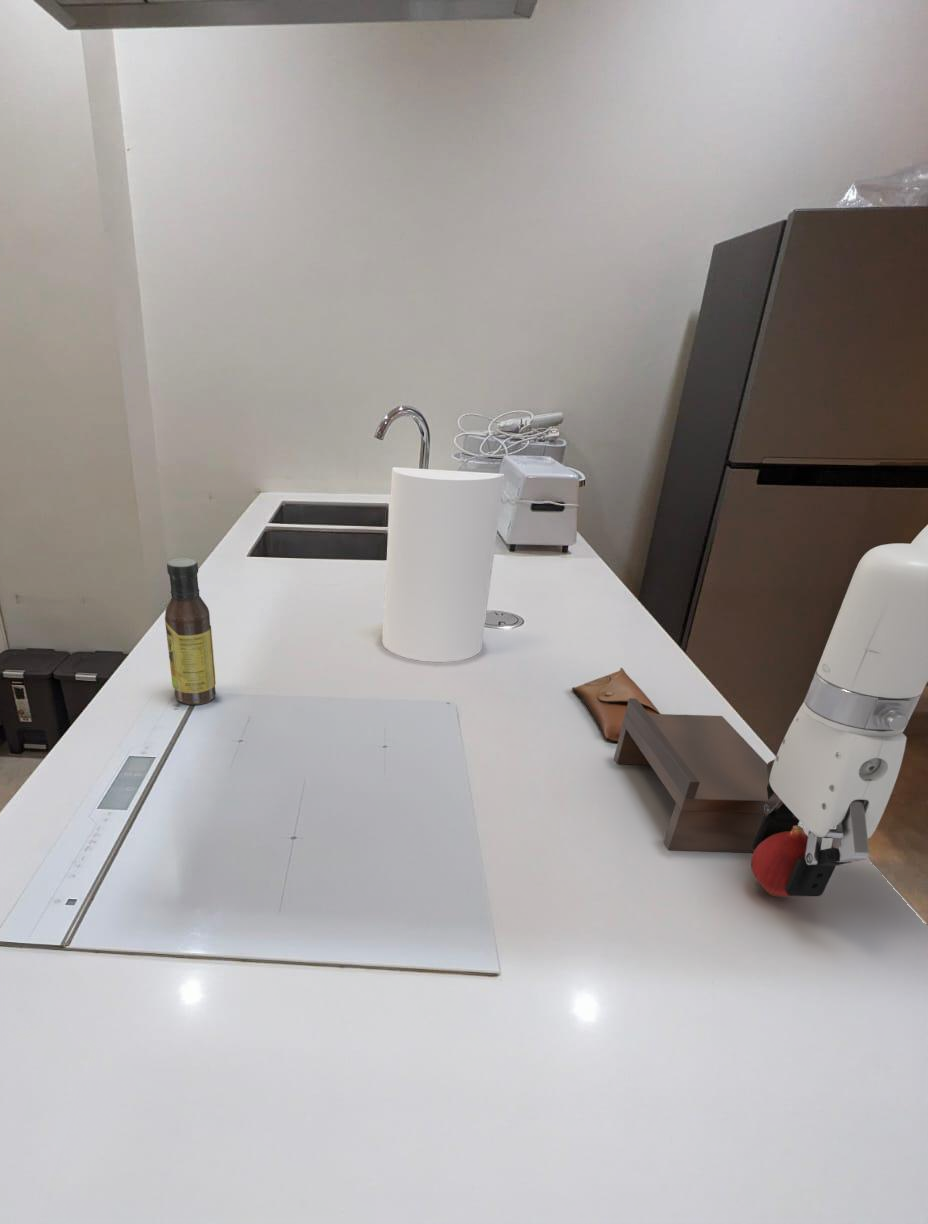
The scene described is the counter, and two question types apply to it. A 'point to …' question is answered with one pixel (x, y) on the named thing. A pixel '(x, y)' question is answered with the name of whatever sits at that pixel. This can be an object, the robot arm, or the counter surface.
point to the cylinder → (439, 562)
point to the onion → (778, 859)
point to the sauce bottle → (189, 636)
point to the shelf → (699, 777)
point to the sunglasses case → (612, 701)
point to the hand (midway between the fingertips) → (785, 870)
